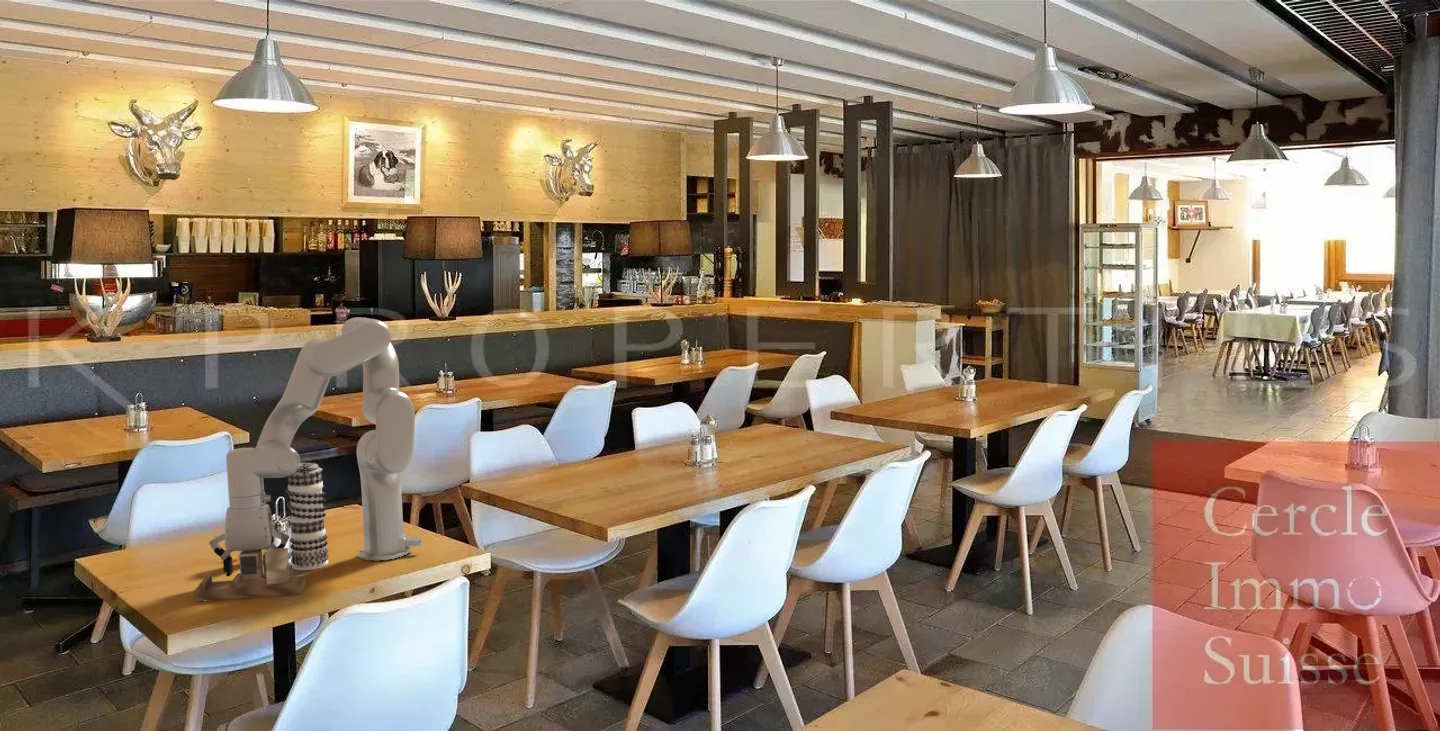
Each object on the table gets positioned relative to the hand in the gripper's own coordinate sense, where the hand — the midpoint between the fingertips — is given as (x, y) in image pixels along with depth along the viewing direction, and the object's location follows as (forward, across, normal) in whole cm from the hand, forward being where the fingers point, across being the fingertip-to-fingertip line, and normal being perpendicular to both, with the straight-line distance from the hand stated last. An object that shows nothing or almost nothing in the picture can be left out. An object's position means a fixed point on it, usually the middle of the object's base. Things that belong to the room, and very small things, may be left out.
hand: (251, 573), depth 248 cm
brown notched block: (+2, -2, +10) cm, 10 cm away
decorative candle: (+2, -11, -10) cm, 15 cm away
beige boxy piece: (+2, 0, 0) cm, 2 cm away
